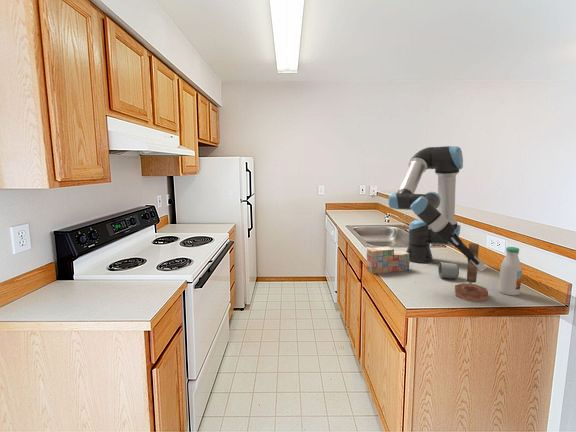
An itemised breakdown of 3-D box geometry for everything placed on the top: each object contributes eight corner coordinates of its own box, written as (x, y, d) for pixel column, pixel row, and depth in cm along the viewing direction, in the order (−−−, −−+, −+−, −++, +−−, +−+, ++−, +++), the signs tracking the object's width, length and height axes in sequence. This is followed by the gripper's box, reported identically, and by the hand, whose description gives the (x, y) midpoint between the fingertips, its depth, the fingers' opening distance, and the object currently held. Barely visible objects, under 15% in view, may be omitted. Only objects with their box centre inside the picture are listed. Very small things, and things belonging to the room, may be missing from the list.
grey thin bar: (469, 283, 160) (469, 281, 160) (470, 283, 160) (471, 282, 160) (472, 290, 151) (472, 289, 151) (474, 290, 151) (474, 289, 151)
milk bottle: (510, 297, 143) (514, 250, 140) (494, 290, 151) (497, 246, 148) (524, 294, 146) (528, 249, 142) (508, 288, 153) (511, 245, 150)
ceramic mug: (459, 280, 164) (460, 265, 163) (441, 279, 165) (442, 264, 164) (453, 274, 174) (453, 259, 173) (436, 273, 176) (436, 258, 175)
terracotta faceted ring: (453, 288, 154) (453, 282, 153) (483, 291, 150) (484, 285, 149) (456, 298, 143) (457, 292, 142) (489, 302, 139) (490, 295, 138)
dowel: (466, 279, 147) (468, 243, 145) (475, 280, 146) (478, 243, 143) (467, 282, 144) (469, 245, 141) (476, 282, 142) (479, 245, 140)
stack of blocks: (403, 267, 186) (404, 245, 184) (409, 270, 180) (410, 248, 178) (366, 270, 183) (366, 247, 181) (371, 273, 177) (371, 250, 175)
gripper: (433, 229, 155) (471, 267, 152) (435, 236, 139) (478, 279, 136) (446, 218, 152) (486, 257, 149) (450, 224, 137) (495, 268, 133)
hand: (482, 267), depth 142 cm, fingers closed on dowel, 3 cm apart
